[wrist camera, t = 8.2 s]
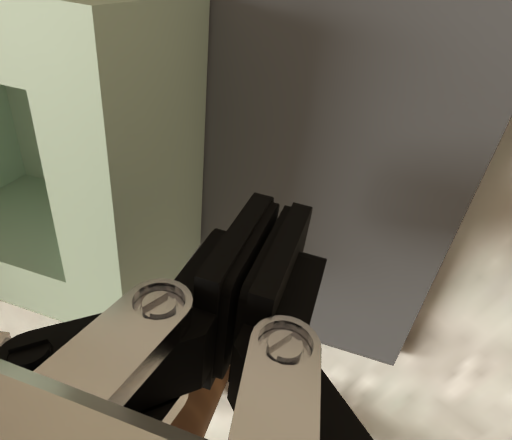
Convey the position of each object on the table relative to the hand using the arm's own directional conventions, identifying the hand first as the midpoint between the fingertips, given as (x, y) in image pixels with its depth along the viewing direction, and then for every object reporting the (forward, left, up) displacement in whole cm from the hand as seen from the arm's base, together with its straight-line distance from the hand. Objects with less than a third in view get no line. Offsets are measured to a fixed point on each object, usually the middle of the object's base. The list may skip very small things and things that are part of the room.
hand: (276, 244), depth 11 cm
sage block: (+9, -1, -4) cm, 10 cm away
